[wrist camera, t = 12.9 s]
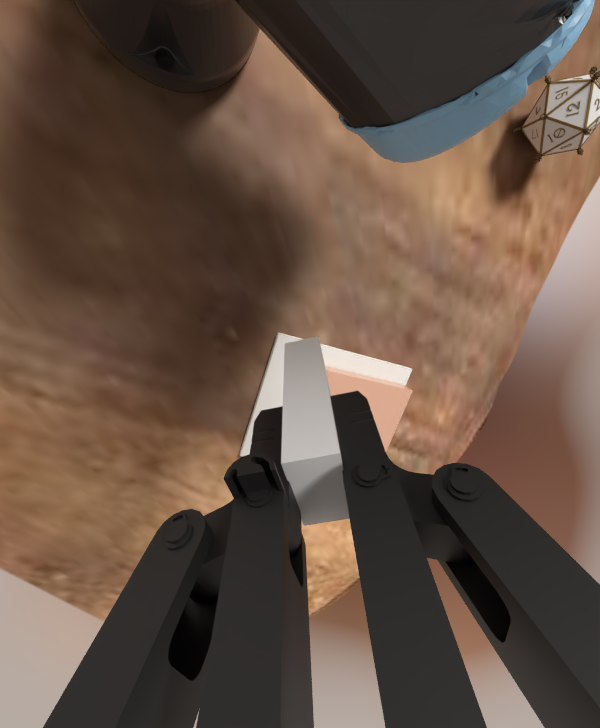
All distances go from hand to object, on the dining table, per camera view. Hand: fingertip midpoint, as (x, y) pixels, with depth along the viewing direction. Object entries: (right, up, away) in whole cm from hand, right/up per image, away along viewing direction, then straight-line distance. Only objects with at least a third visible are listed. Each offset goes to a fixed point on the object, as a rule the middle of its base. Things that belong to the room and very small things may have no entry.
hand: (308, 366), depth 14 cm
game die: (+29, +30, +26) cm, 49 cm away
